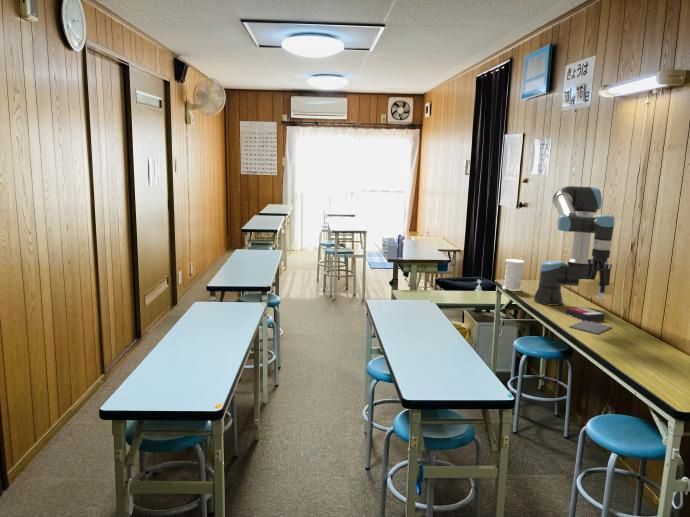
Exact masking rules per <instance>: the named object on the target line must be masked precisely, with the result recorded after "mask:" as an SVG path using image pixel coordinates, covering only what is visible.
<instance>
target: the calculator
mask: <svg viewBox="0 0 690 517" xmlns="http://www.w3.org/2000/svg"><path fill="white" fill-rule="evenodd" d="M566 313H567V314H566ZM565 314H566V315H568V314H569V315H568V316H570V315H572V316H571V317H573V316H574V317H573V318H575V317H577V318H576V319H579V318H580V319H579V320H581V319H583V320H586V321H590V322H591V321H596V322H604V321H605V313H603V312H599V311H598V310H594V309H589V308H587V307H584V306H581V307H567V308H565ZM583 320H582V321H583Z"/></svg>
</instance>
